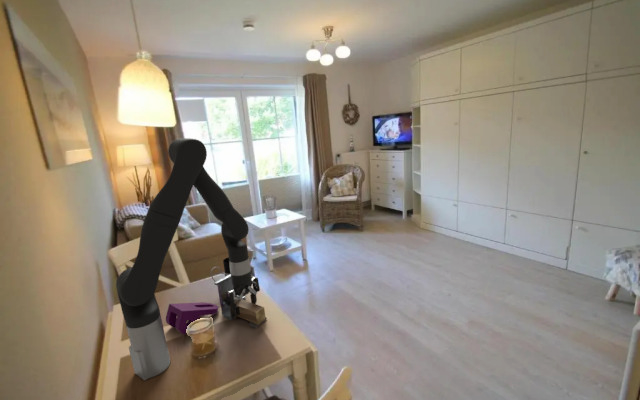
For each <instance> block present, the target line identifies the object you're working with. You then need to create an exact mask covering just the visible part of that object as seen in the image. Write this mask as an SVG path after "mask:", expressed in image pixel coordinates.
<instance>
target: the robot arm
mask: <svg viewBox="0 0 640 400" xmlns="http://www.w3.org/2000/svg"><path fill="white" fill-rule="evenodd" d="M167 151H168V153H167V154H168V156H169V159H170V160H171V162H172V163H173V166H172V169H171V171H170V172H171V173H170V175H169V176H168V180H166V182H165V184H164V185H163V187H161V189H160V190H159V191H158V193H157V194H156V196H155V197H154V198H153V200H152V201H151V203H150V205H149V207H148V210H147V212H146V215H145V218H144V220H143V223H142V227H141V232H140V238H139V244H138V245H139V246H138V251H137V255H136V257H135V260H134V262H133V265H132V267H129V268H126V269H125V270H123V271H122V272H121V273H120V274H119V276H117V279H116V283H115V287H116V292H117V297H118V300H119V304H120V308H121V313H122V316H123V319H124V323H125V326H126V331H127V334H128V339H129V342H130V345H129V346H128V350H129V354H130V359H131V363H132V367H133V372H134V374H135V375H136V376H138V377H139V378H140V379H142V381H147V380H148V379H150V378H154V377H157V376H158V375H160V374H162V373H163V372H165V371H166V370H167V369H168V368H169V366H170V364H171V359H170V358H171V357H170V353H169V349H168V344H167V339H166V334H165V330H164V325H163V320H162V319H163V318H162V315H161V311H160V310H161V309H160V306H159V303H158V301H157V298H156V295H155V292H156V290H157V287H158V283H159V280H160V279H159V278H160V274H161V272H162V267H163V263H164V262H165V258H166V256H167V253H168V251H169V249H170V247H171V245H172V241H173V240H174V239H173V238H174V237H175V234H176V232H177V231H178V230H177V229H178V227H179V225H180V222H181V220H182V216H183V214H184V211H185V208H186V206H187V203H188V201H189V198H190V194H191V192H192V189H193V187H195V189H196V191H197V192H198V194H199V195H200V197H201V198H202V199H203V201H204V202H205V204H206V205H207V207H208V208H209V210H210V211H211V213H212V215H213V216H214V218H215V219H217V220H218V221H220V222H222V223H221V228H220V231H221V235H222V239H223V242H224V244H225V247H226V249H227V253H228V254H227V255H228V257H229V262H230V273H231V280H232V284H233V290H232V291H227V292H226V295H227V305H228V306H229V307H231V308H233V311H234V314H236V315H240V310H239V306H238V305H239V302H240V301H241V300H242V297H244V296H245V297H246V295H248V294H250V302H251V303H254V304H256V305H257V299H258V298H257V294H258V292H260V291H261V288H260V282H259V278H258V277H255V276H253V274H252V267H251V262H250V258H249V250H248V245H247V244H246V243H245V242H243V240H244V239H245V238H246V237H247V236H248V234H249V225H248V222H247V221H246V220H245V218H244V216H243V215H241V214H240V212H238V210H236V208H235V207H234V206H233V204H232V203H231V200H230V199H229V198H228V196H227V194H226V193H225V191H223V189H222V188H221V187H220V186H219V185H218V183H216V181H215V180H214V179H213V178H212V176H210V174H209V173H208V171H207V170H206V169H205V167H204V165H205V162H206V160H207V156H208V153H207V152H208V151H207V147H206V146H205V144H204V143H203V142H202V141H200V140H199V139H196V138H186V137H184V138H181V137H180V138H177V139H174V140H172V142H171V143H170V144H169V147H168V150H167ZM237 295H238V296H239V298H237ZM236 300H237V301H236ZM235 302H236V303H235Z"/></svg>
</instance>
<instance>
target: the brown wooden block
mask: <svg viewBox="0 0 640 400" xmlns="http://www.w3.org/2000/svg"><path fill="white" fill-rule="evenodd" d="M245 300H246V299H245ZM245 300H243V299H242V300H241V301H240V302H239V305H238V306H239V310H240V315H236V314H234V311H233V315H235V316H237V317H238V318H241V319H243V320H246V321H248V322H249V323H251V322H252V323H255V324H257V325H258V324H260V323H261V322H262V321H264V320H265V319H266V318H267V317H266V311H265V307H264V306H262V305H259V304H257V303H256V304H254V303H251V301H248V300H246V301H245ZM236 301H237V300H236ZM235 303H236V302H235ZM232 309H233V308H232ZM265 317H266V318H265ZM265 321H266V320H265ZM265 321H264V322H265ZM260 325H261V324H260Z"/></svg>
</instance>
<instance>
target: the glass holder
mask: <svg viewBox="0 0 640 400" xmlns="http://www.w3.org/2000/svg"><path fill="white" fill-rule="evenodd" d="M222 261H223V262H222V263H223V269H224V270H223V271H224V272H222V269H221V268H220V267H219V266H214V267H212V268H211V270H210V276H211V279H212V280H213V281H214V283H215V282H216V280H215V278H214V277H213V270H214V269H216V268H218V269H219V273H220V274H221V275H224V277H226V276H228V275H230V274H231V273H230V262H229V256H228V257H226V258H224V259H223V260H222Z"/></svg>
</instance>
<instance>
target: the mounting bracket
mask: <svg viewBox="0 0 640 400" xmlns="http://www.w3.org/2000/svg"><path fill="white" fill-rule="evenodd" d="M218 311H219V306H218V305H217V304H214V303H212V302H204V301H203V302H179V303H169V304H168V307H167V312H166V315H165V322H166V324H167V325H168V326H170V327H172V328H175V329H176V330H177V331H178V332H179V333H181V334H183V335H187V334H186V329H187V326H188V325H189V324H190V323H191V322H193V321H195V320H197V319H199V320H200V318H201V317H202V316H210V315H216V314H217V313H218Z"/></svg>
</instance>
